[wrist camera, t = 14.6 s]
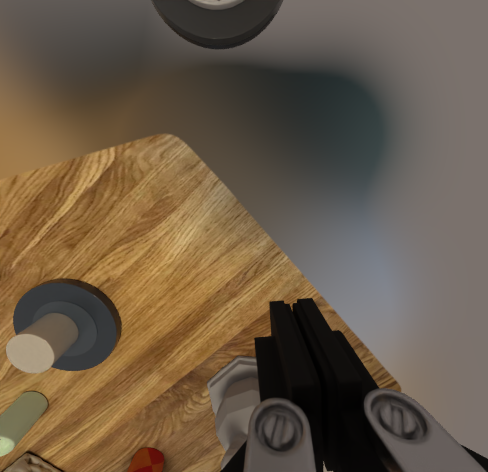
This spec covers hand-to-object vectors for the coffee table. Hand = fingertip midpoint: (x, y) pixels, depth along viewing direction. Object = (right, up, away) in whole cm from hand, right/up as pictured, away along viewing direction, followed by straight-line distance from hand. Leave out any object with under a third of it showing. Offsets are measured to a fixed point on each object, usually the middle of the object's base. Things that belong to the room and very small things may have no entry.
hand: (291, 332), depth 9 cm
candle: (-40, -26, +34) cm, 58 cm away
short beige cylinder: (-31, -11, +28) cm, 44 cm away
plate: (-30, -11, +30) cm, 44 cm away
